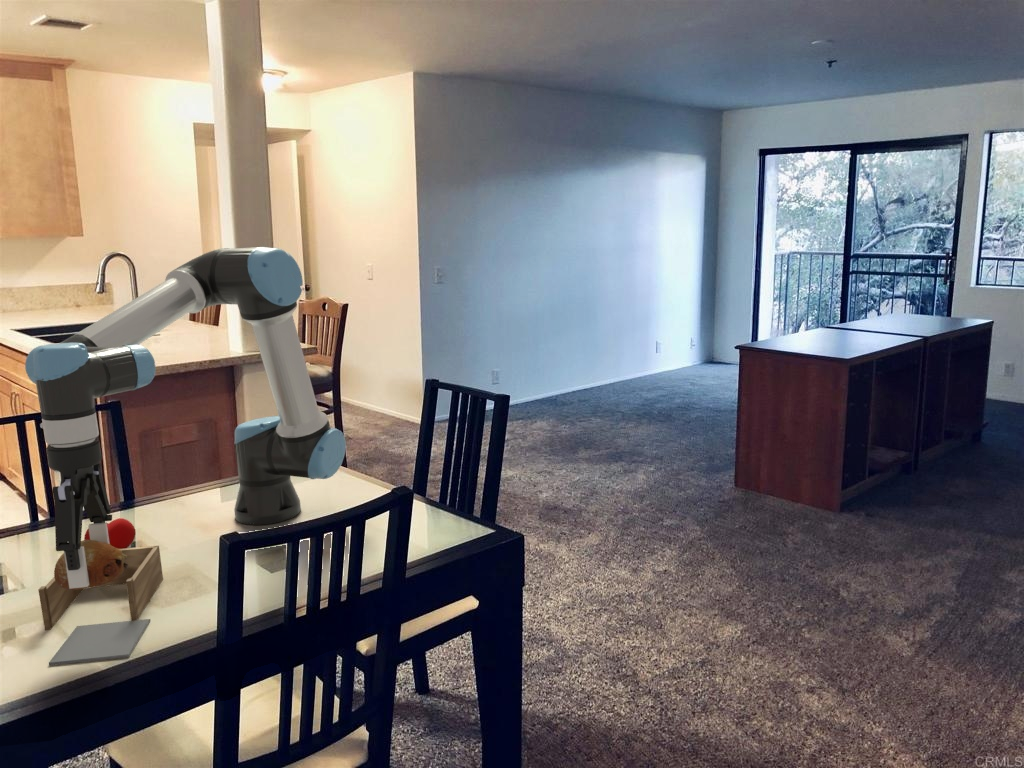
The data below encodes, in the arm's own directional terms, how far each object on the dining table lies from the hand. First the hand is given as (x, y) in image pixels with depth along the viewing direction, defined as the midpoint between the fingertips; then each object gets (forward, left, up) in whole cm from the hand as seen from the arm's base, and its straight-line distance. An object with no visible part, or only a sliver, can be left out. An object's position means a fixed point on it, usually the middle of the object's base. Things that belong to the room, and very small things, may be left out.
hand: (91, 572), depth 131 cm
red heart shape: (+8, -32, -13) cm, 35 cm away
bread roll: (0, 0, -1) cm, 1 cm away
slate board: (0, 0, -12) cm, 12 cm away
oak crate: (+4, -16, -12) cm, 20 cm away
